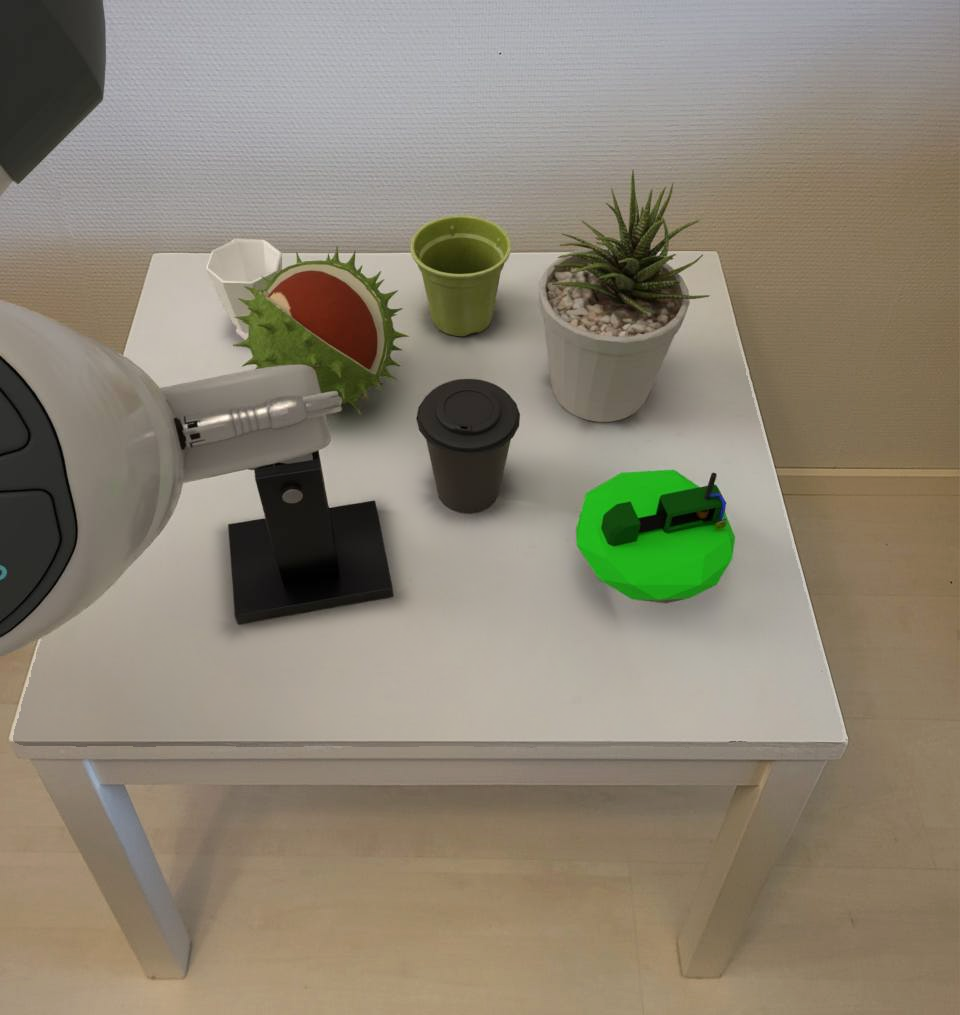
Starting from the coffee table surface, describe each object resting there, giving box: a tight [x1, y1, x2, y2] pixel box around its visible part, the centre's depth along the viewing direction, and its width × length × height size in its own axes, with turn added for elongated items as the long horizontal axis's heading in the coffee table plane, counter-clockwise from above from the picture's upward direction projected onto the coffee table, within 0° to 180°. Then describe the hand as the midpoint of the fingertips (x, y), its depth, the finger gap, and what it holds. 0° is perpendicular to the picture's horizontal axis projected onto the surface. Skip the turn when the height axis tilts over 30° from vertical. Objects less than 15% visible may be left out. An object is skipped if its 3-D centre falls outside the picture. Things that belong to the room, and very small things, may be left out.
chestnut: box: [232, 245, 410, 421], centre depth 84 cm, size 15×14×15 cm
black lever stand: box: [227, 450, 394, 625], centre depth 71 cm, size 12×9×14 cm
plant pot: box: [409, 214, 512, 337], centre depth 92 cm, size 9×9×9 cm
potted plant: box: [538, 169, 711, 423], centre depth 82 cm, size 13×14×20 cm
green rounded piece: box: [575, 469, 736, 604], centre depth 73 cm, size 12×12×11 cm
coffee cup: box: [416, 378, 521, 515], centre depth 78 cm, size 8×8×10 cm
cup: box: [205, 237, 283, 341], centre depth 92 cm, size 7×10×8 cm
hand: (109, 450), depth 46 cm, fingers closed
